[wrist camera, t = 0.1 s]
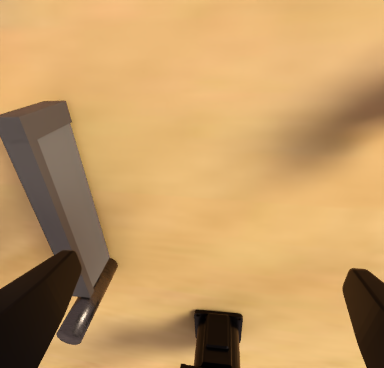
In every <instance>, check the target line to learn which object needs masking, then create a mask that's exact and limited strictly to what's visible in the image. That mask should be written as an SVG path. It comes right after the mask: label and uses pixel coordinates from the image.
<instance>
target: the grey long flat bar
mask: <svg viewBox="0 0 384 368" xmlns="http://www.w3.org/2000/svg"><path fill="white" fill-rule="evenodd" d="M71 122H72V121H71V117H70V114H69V110H68V107H67V103H66V101H43V102H40V103H37V104H33V105H30V106H27V107H24V108H20V109H17V110H14V111H11V112H7V113H4V114H1V115H0V137H1V139H2V141H3V144H4V146H5V148H6V150H7V152H8V155H9V157H10V159H11V161H12V163H13V166H14V168H15V170H16V172H17V174H18V177H19V179H20V181H21V183H22V186H23V188H24V190H25V192H26V194H27V197H28V199H29V201H30V203H31V205H32V208H33V210H34V212H35V214H36V216H37V219H38V221H39V223H40V225H41V227H42V230H43V232H44V234H45V236H46V238H47V241H48V243H49V245H50V247H51V249H52V252H53V254H54V255H55V254H57V253H58V252H60V251H62V250H74V251H75V252H76V253H77V255H78V258H79V260H80V263H81V266H82V271H81V275H80V277H79V280H78V282H77V285H76V287H75V290H74V292H73V295H72V296H76V297H88V298H91V296H92V294H93V293H94V289H93V287H94V285H95V283H96V282H97V280H98V278H99V276H100V274H101V272H102V271H103V269H104V267H105V265H106V263H107V262H108V260H109V258H110V256H109V253H108V249H107V246H106V243H105V239H104V236H103V232H102V229H101V226H100V222H99V219H98V216H97V212H96V209H95V205H94V202H93V199H92V195H91V192H90V189H89V185H88V182H87V178H86V175H85V172H84V168H83V165H82V162H81V158H80V155H79V151H78V148H77V145H76V141H75V138H74V135H73V131H72V128H71V124H70V123H71Z"/></svg>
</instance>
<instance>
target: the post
mask: <svg viewBox="0 0 384 368" xmlns="http://www.w3.org/2000/svg"><path fill="white" fill-rule="evenodd" d="M117 267H118V265H117V263H116V261H115V260H113V259H111V258H109V260H108V262H107V263H106V265H105V267H104V269H103V271H102V272H101V274H100V276H99V278H98V280H97V282H96V283H95V285H94V287H93V289H94V293H93V294H92V296H91V298H88V297H78V298H77V300H76V301H75V303H74V305H73V306H72V308H71V310H70V312H69V313H68V315H67V317H66V318H65V320H64V322H63V324H62V325H61V327H60V329H59V330H58V332H57V337H58V338H59V339H60V340H61V341H63V342H65V343H68V344H72V345H77V344H80V343H81V341H82V339H83V337H84V335H85V333H86V331H87V329H88V327H89V325H90V322H91V320H92V318H93V316H94V314H95V312H96V310H97V308H98V306H99V304H100V302H101V300H102V298H103V296H104V294H105V292H106V290H107V288H108V286H109V284H110V282H111V280H112V277H113V275H114V273H115V271H116V269H117Z"/></svg>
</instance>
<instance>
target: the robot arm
mask: <svg viewBox="0 0 384 368" xmlns="http://www.w3.org/2000/svg"><path fill="white" fill-rule="evenodd" d="M81 271H82V266H81V263H80V260H79V258H78V255H77V253H76V252H75V251H74V250H62V251H60V252H58V253H57V254H55V255H54V256H52V257H51V258H49V259H47V260H46V261H44V262H43V263H41V264H39V265H38V266H36V267H35V268H33V269H31V270H30V271H28V272H27V273H25V274H24V275H22V276H20V277H19V278H17V279H16V280H14V281H12V282H11V283H9V284H8V285H6V286H5V287H3V288H1V289H0V368H38V366H39V364H40V362H41V360H42V358H43V356H44V355H45V353H46V351H47V349H48V347H49V345H50V343H51V341H52V339H53V337H54V335H55V333H56V331H57V329H58V327H59V325H60V323H61V321H62V319H63V317H64V315H65V312H66V310H67V308H68V305H69V302H70V300H71V297H72V295H73V292H74V290H75V287H76V285H77V282H78V280H79V277H80V275H81ZM343 295H344V298H345V302H346V305H347V309H348V312H349V316H350V319H351V323H352V326H353V329H354V333H355V336H356V340H357V343H358V346H359V349H360V351H361V354H362V357H363V359H364V362H365V364H366V367H367V368H384V283H383V282H382V281H381V280H380V279H378V278H377V277H376V276H374V275H373V274H372V273H371V272H369V271H368V270H366V269H357V268H352V269H350V270H349V272H348V274H347V277H346V279H345V282H344V284H343ZM194 319H195V334H196V338H197V340H196V350H195V360H194V366H191V365H186V364H181V367H180V368H240V352H239V343H240V341H241V331H242V322H243V316H242V315H241V314H233V313H222V312H211V311H199V310H196V311H195V313H194Z"/></svg>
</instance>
